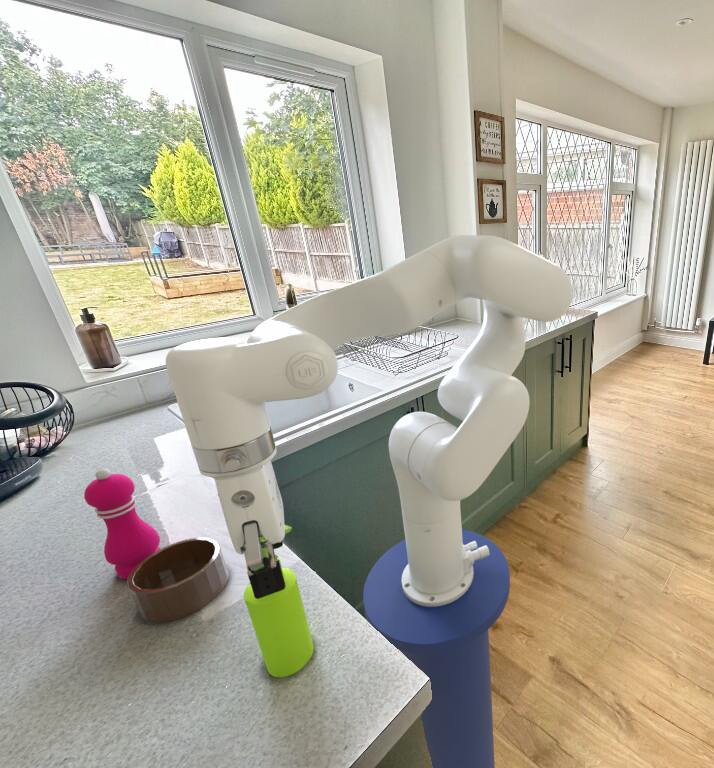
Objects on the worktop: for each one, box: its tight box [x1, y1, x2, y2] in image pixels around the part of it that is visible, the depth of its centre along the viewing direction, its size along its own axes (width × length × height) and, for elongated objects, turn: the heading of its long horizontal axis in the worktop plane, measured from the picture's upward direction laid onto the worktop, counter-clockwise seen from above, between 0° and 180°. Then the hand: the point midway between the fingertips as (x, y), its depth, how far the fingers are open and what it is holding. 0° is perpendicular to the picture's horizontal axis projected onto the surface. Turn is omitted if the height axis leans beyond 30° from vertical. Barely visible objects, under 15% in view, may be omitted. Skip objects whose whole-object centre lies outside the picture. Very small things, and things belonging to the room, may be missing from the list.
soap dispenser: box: [243, 524, 315, 678], centre depth 55 cm, size 6×7×20 cm
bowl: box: [126, 536, 230, 624], centre depth 68 cm, size 12×12×6 cm
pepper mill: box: [83, 468, 161, 580], centre depth 70 cm, size 7×7×20 cm
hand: (270, 568), depth 53 cm, fingers open, 7 cm apart
